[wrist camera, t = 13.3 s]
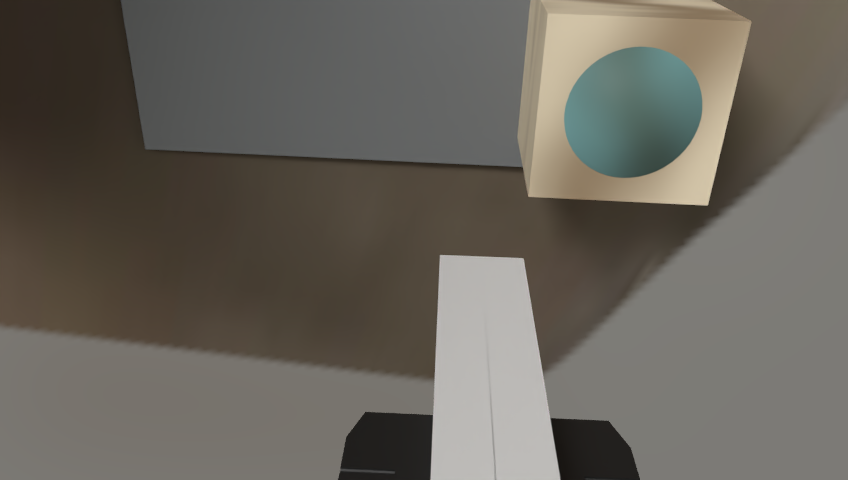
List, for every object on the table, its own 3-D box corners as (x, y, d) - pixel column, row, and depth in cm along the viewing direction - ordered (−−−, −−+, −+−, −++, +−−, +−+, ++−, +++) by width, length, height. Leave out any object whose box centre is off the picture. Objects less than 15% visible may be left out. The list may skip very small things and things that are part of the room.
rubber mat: (148, 146, 36) (145, 149, 35) (113, -68, 31) (109, -68, 31) (656, 170, 35) (658, 173, 34) (698, -48, 30) (701, -47, 30)
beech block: (707, 205, 28) (663, 144, 34) (751, 21, 24) (693, -9, 30) (528, 197, 28) (517, 137, 34) (548, 13, 25) (531, -16, 31)
